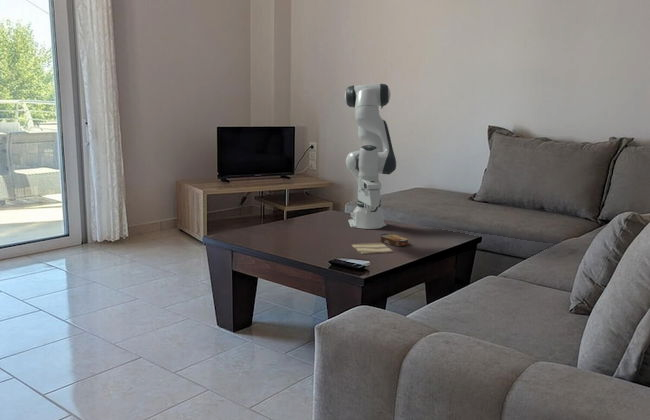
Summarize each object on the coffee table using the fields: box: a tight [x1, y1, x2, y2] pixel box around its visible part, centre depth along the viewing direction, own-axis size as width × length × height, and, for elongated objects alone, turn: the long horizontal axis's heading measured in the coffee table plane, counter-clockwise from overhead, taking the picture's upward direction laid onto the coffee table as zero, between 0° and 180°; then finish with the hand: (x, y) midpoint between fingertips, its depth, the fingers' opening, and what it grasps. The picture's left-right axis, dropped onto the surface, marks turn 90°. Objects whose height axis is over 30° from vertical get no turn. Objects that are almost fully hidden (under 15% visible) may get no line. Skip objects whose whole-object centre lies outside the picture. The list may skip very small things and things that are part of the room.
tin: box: [379, 233, 409, 247], centre depth 269 cm, size 15×3×8 cm
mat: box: [351, 242, 394, 255], centre depth 258 cm, size 15×14×1 cm
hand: (367, 213), depth 262 cm, fingers closed
